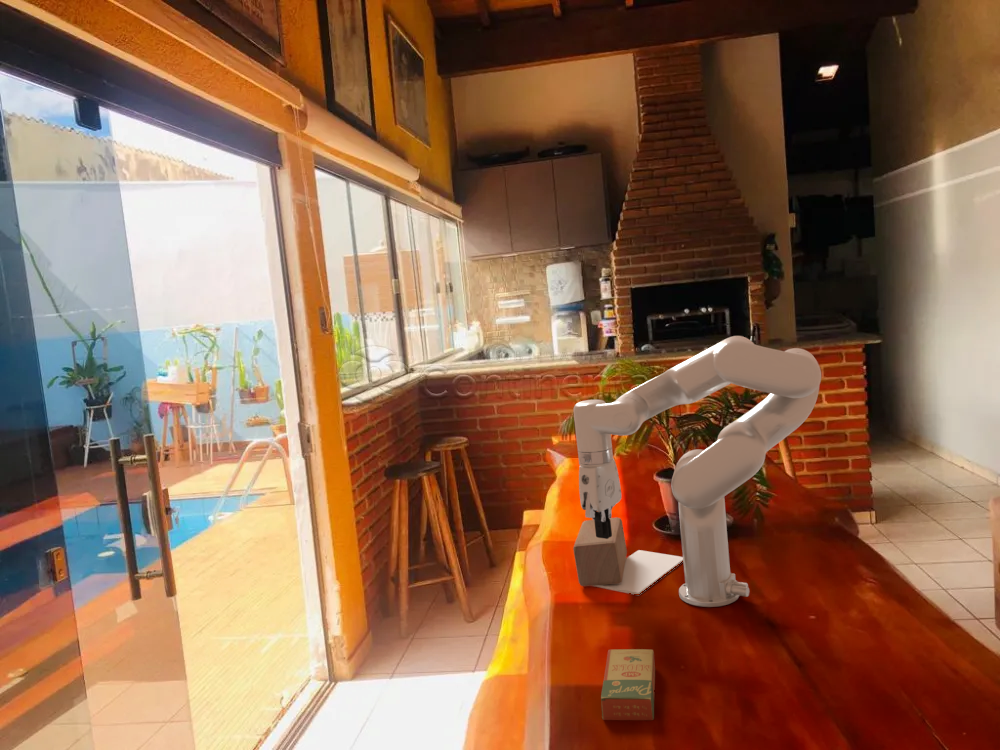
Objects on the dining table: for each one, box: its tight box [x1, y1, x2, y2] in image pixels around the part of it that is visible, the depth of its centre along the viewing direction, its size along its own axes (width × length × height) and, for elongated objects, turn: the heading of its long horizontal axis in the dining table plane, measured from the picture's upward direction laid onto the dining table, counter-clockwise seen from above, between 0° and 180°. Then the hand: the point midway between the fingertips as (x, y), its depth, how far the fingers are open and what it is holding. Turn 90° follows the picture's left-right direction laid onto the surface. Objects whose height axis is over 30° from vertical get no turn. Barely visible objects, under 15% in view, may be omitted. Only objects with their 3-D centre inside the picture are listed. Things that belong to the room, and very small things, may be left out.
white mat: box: [593, 549, 683, 595], centre depth 179 cm, size 13×22×1 cm, turn 139°
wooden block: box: [572, 516, 628, 587], centre depth 181 cm, size 10×10×20 cm
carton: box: [600, 648, 656, 721], centre depth 129 cm, size 8×16×4 cm, turn 167°
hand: (604, 536), depth 168 cm, fingers closed
